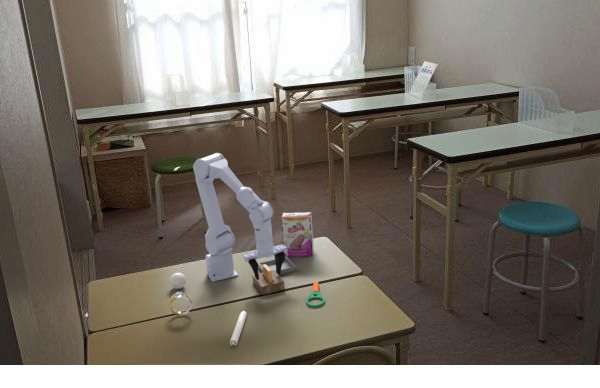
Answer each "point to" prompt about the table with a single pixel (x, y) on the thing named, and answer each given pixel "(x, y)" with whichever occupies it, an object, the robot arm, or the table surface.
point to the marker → (238, 328)
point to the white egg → (177, 280)
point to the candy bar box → (297, 234)
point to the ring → (179, 295)
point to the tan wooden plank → (267, 273)
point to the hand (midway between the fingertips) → (267, 276)
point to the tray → (285, 269)
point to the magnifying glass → (315, 296)
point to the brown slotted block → (269, 287)
